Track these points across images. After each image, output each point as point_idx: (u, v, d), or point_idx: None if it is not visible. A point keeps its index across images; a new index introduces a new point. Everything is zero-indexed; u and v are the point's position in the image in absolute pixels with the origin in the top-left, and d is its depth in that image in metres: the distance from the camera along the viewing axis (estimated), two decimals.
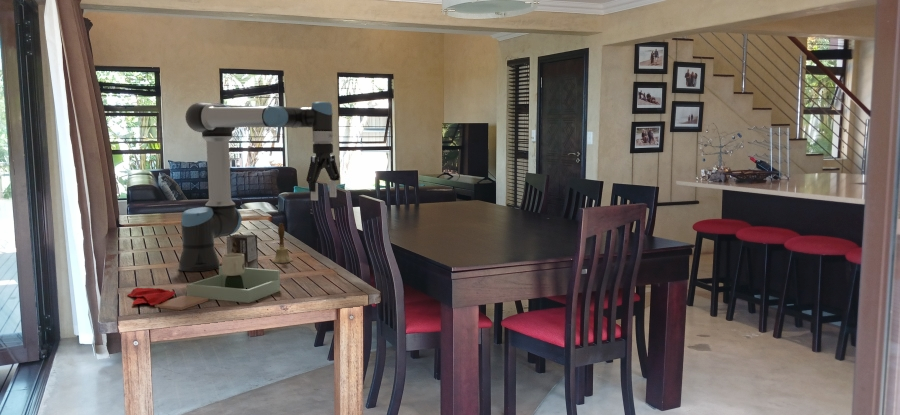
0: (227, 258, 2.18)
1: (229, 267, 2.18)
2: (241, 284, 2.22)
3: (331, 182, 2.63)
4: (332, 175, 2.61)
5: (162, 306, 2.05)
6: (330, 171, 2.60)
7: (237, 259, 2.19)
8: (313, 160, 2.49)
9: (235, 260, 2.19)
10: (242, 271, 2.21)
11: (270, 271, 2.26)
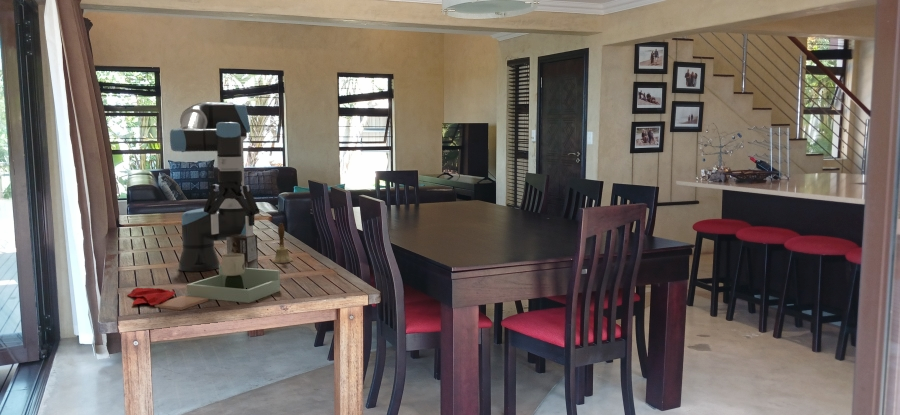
0: (227, 258, 2.18)
1: (229, 267, 2.18)
2: (241, 284, 2.22)
3: None
4: None
5: (162, 306, 2.05)
6: None
7: (237, 259, 2.19)
8: None
9: (235, 260, 2.19)
10: (242, 271, 2.21)
11: (270, 271, 2.26)
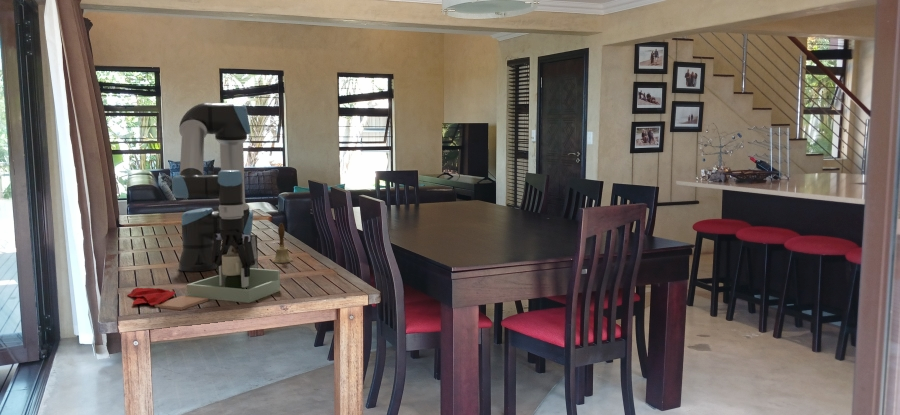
0: (227, 258, 2.18)
1: (229, 267, 2.18)
2: (241, 284, 2.22)
3: None
4: None
5: (162, 306, 2.05)
6: None
7: (237, 259, 2.19)
8: None
9: (235, 260, 2.18)
10: None
11: (270, 271, 2.26)
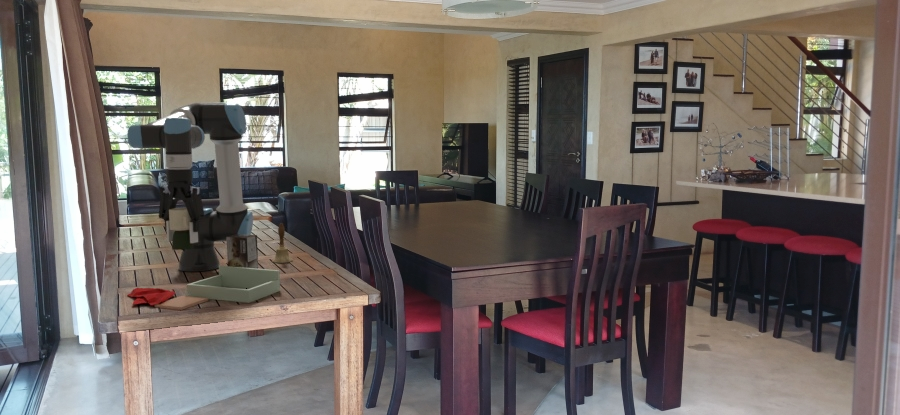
0: (174, 211, 2.04)
1: (177, 221, 2.04)
2: None
3: None
4: None
5: (162, 306, 2.05)
6: None
7: (185, 213, 2.05)
8: None
9: (183, 214, 2.04)
10: None
11: (270, 271, 2.26)
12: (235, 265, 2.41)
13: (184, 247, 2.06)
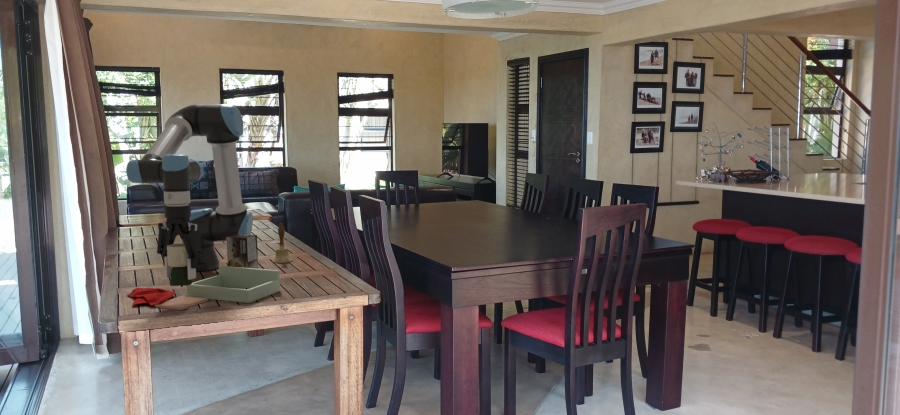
0: (172, 248, 2.04)
1: (174, 258, 2.05)
2: None
3: None
4: None
5: (162, 306, 2.05)
6: None
7: (183, 249, 2.05)
8: None
9: (181, 250, 2.05)
10: None
11: (270, 271, 2.26)
12: (235, 265, 2.41)
13: (182, 283, 2.06)
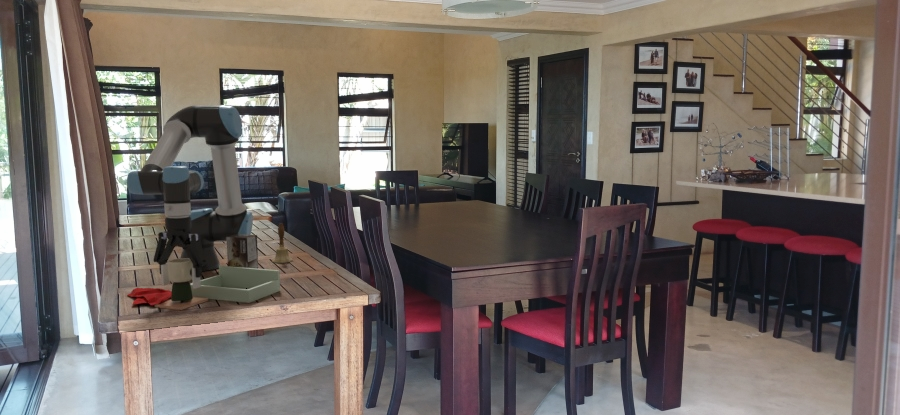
0: (173, 264, 2.05)
1: (175, 273, 2.05)
2: (189, 291, 2.08)
3: None
4: None
5: (162, 306, 2.05)
6: None
7: (183, 265, 2.05)
8: None
9: (181, 266, 2.05)
10: (189, 277, 2.07)
11: (270, 271, 2.26)
12: (235, 265, 2.41)
13: (183, 298, 2.07)
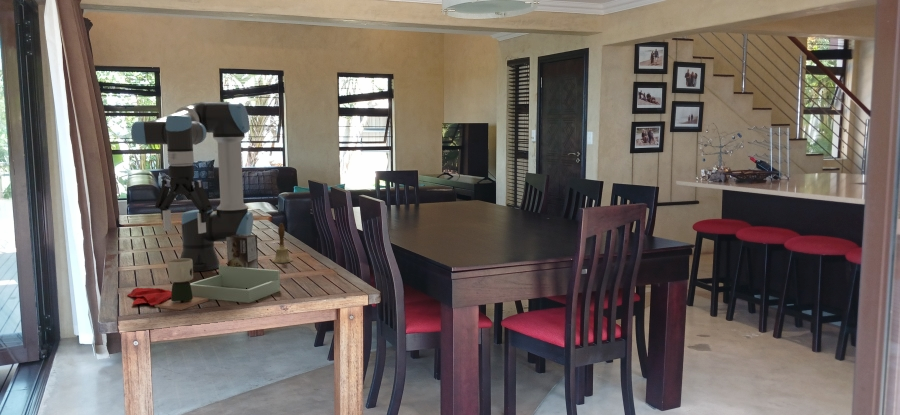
0: (173, 263, 2.05)
1: (175, 273, 2.05)
2: (189, 291, 2.08)
3: None
4: None
5: (162, 306, 2.05)
6: None
7: (183, 265, 2.06)
8: None
9: (181, 266, 2.05)
10: (189, 277, 2.07)
11: (270, 271, 2.26)
12: (235, 265, 2.41)
13: (183, 298, 2.07)
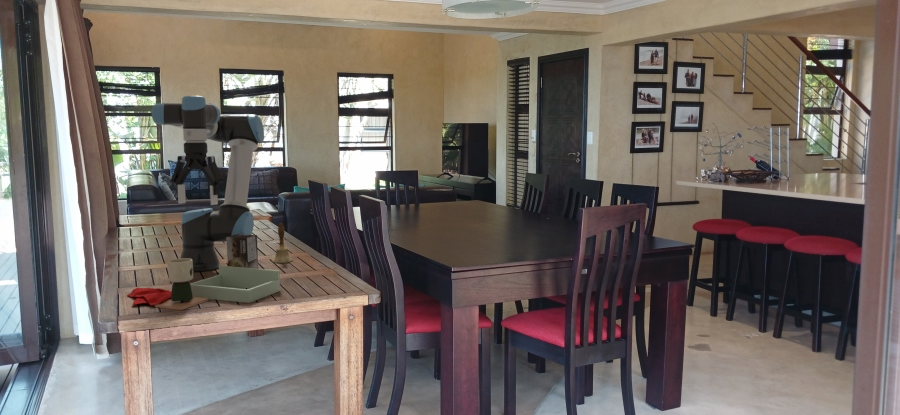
0: (173, 263, 2.05)
1: (175, 273, 2.05)
2: (189, 291, 2.08)
3: None
4: None
5: (162, 306, 2.05)
6: None
7: (183, 265, 2.06)
8: None
9: (181, 266, 2.05)
10: (189, 277, 2.08)
11: (270, 271, 2.26)
12: (235, 265, 2.41)
13: (183, 298, 2.07)
